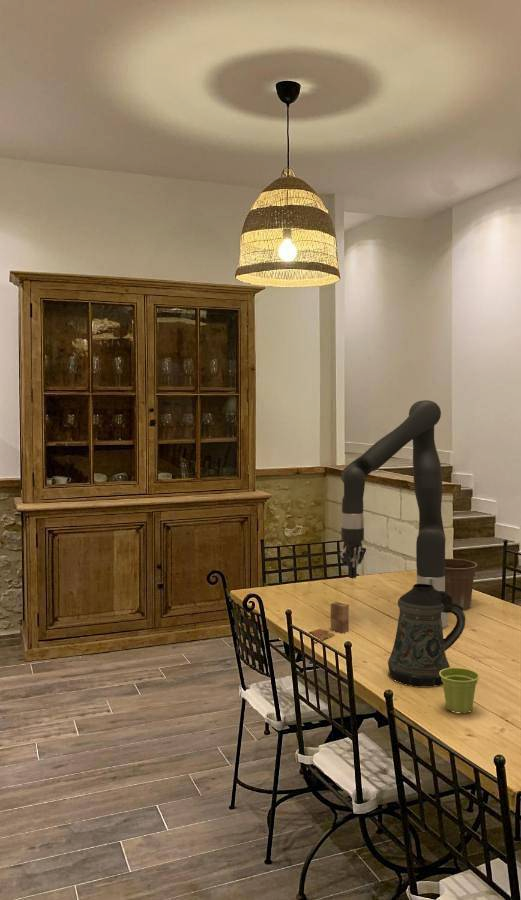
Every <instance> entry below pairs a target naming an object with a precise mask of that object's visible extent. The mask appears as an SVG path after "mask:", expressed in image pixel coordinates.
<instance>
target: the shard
mask: <svg viewBox="0 0 521 900" xmlns="http://www.w3.org/2000/svg"><path fill="white" fill-rule="evenodd" d="M309 633H310V634H312V635H313V636H315V637H317V638H318V639H320V640H322V639H324V640H326V639H325V638H327V639H329V638H328V637H330V638H332V637H331V636H333V637H335V632H333V631H331V630H327V629H322V628H317V629H314V630H312V631H308V634H309ZM322 641H323V640H322ZM314 644H317V643H316V642H315V643H314Z"/></svg>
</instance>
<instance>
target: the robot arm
mask: <svg viewBox="0 0 521 900" xmlns="http://www.w3.org/2000/svg"><path fill="white" fill-rule="evenodd" d="M441 415H442V411H441V408H440V406H439V404H437V403H436V402H435V401H432V400H430V399H429V400H427V399H426V400H418V401H415V402H414V403H413V404H412V405H411V406H410V408H409V412H408V417H407V418H406V419H404V421H403V422H402V423H400V424H399V425H398V426H397V427H396V428H395V429H393V430H391V431H390V432H389V433H388V434H386V435H385V436H383V437H382V438H380V439H379V440H377V441H376V442H375V443H374V444H373V445H371V446H370V447H368V449H367V450H366V451H365V452H364V453H363V454H361V456H359V457H357V458H356V459H354V460H352V462H351V463H349V464H348V465H346V466H345V467H344V468H343V470H342V471H341V474H340V477H341V481H342V483H343V497H342V500H341V501H342V502H341V518H340V519H341V520H340V522H341V525H340V527H341V528H340V531H341V533H340V539H341V541H343V545H342V551H339V552H338V556H339V558H340V560H341V562H342V564H343V565H344V566H345V567H347V575H348V579H356V578H357V575H358V574H357V573H358V572H357V567H358V566H359V565H361V564H362V562H363V559H364V556H365V555H366V552H367V548H366V547H364V546H363V544H362V543H363V541H364V540H365V516H364V494H365V487H366V486H365V485H366V477H367V476H369V475H370V474H371V473H372V472H374V471H376V470H379V469H380V468H381V467H383V466H384V465H385V464H386V463H387V462H388V461H389V460H390V459H391V458H393V457H394V456H395V455H396V454H397V453H398V452H399V451H400V450H401V449H402V448H404V447H405V446H406V445H407V444H408V443H410V442H411V441H412V468H413V469H412V472H413V475H412V476H413V487H414V494H415V497H416V498H415V499H416V502H417V503H416V504H417V507H418V516H419V519H418V520H419V521H418V522H419V523H418V534H417V536H416V546H415V548H416V549H415V550H416V551H415V553H416V557H415V559H416V561H415V562H416V563H415V564H416V566H415V567H416V584H428V585H432V586H433V587H434V589H436V590H437V591H445V559H446V541H447V540H446V539H447V538H446V534H445V529H444V523H443V517H442V499H443V475H442V464H441V461H440V457H439V454H438V449H437V446H436V443H435V441H436V440H435V426H436V425H437V424H438V423H439V422H440V419H441ZM441 621H442V629H444V628H446V627H448V613H444V612H442V613H441Z"/></svg>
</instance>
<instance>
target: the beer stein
mask: <svg viewBox="0 0 521 900" xmlns="http://www.w3.org/2000/svg"><path fill="white" fill-rule="evenodd" d="M397 607H398V610H399V613H398V614H399V615H398V620H397V627H396V631H395V632H396V633H395V638H394V641H393V642H394V643H393V647H392V650H391V653H390V656H389V658H388V660H387V666H388V671H389V673H388V675H389V674H390V675H389V677H390V676H391V677H390V678H391V679H393V680H392V681H394V680H396V681H398V682H397V683H399V682H401V683H403V684H402V685H404V684H407V685H406V686H409V685H412V686H411V687H415V686H419V687H418V688H421V687H420V686H434V685H439V686H441V685H440V684H442V683H443V682H442V680H441V677H440V675H439V672H440V671H441V670H443V669H446V668H451V666H450V663H449V661H448V658H447V656H446V655H447V654H446V651H447V650H449V649H450V648H451V647H452V646H453V645H454V644H455V643H456V642H458V639H459V638H460V637H461V636H462V633H463V632H464V630H465V626H466V619H467V618H466V614H465V612H464V611H465V610H464V609H463V608H462V607H461V606H460V605H458V604H457V603H456V602H452V598H451V596H449V594H448V593H447V592H445V591H437V590H436V589H434V587H433V586H432V585H428V584H417V583H416V584H413V586H412V588H411V589H410V590H408V591H407V592H405V593H404V594H403V595H401V596H400V597H399V599H398V600H397ZM442 612H444V613H447V614H453V615H454V616H455V617H456V623H455V625H454V627H453V628H452V630H451V631H450V633H449V634H447V636H446V637H445V638H444V631H443V630H444V628H442V621H441V613H442ZM396 681H395V682H396ZM401 683H400V684H401ZM442 685H443V684H442ZM434 687H435V686H434Z"/></svg>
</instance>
